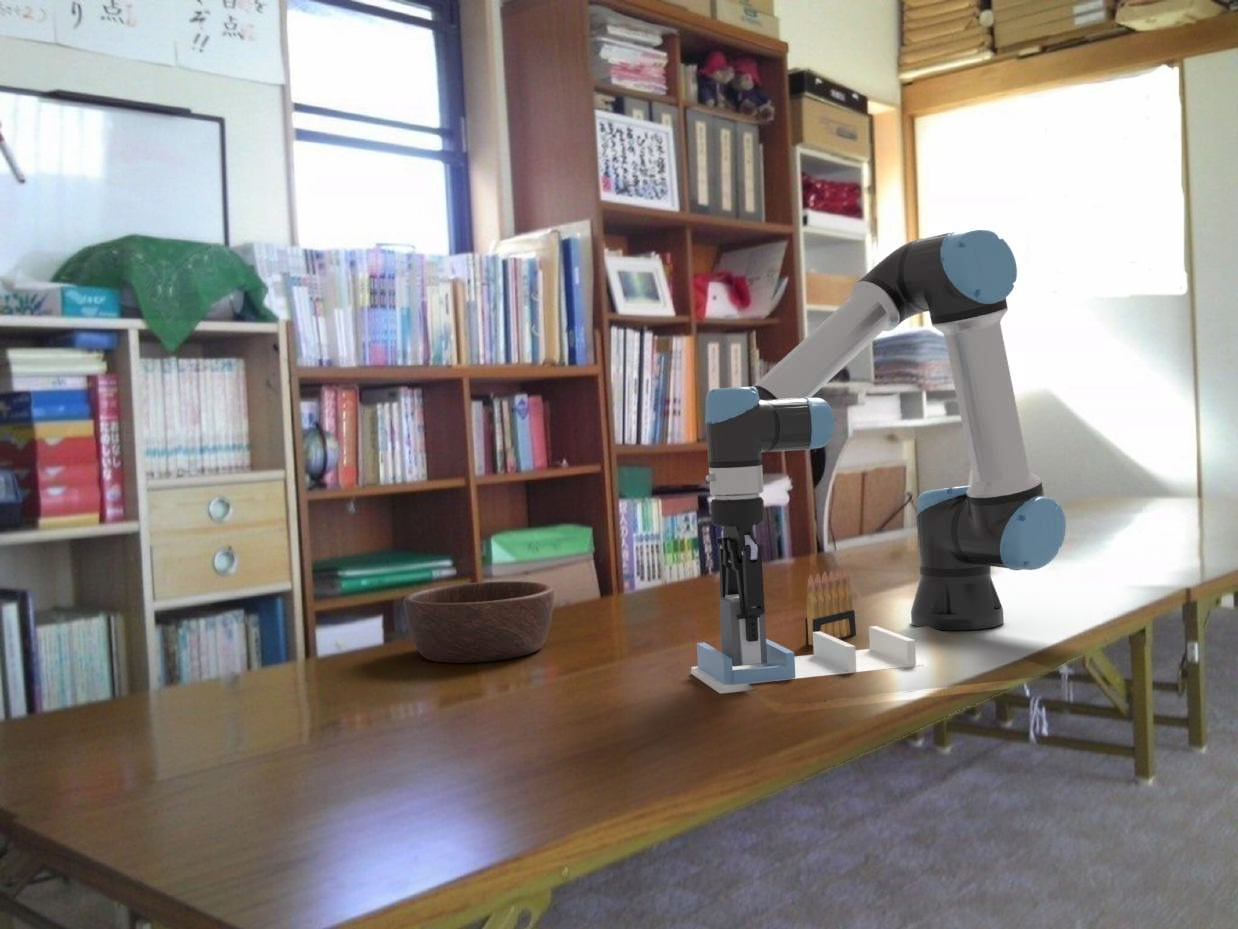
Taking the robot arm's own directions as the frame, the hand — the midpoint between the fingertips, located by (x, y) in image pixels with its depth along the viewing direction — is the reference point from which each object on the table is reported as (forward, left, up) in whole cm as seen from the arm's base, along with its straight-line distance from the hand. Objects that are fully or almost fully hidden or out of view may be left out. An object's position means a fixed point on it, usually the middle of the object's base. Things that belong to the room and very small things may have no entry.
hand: (744, 659), depth 178 cm
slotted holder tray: (-9, 0, -3) cm, 9 cm away
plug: (0, 0, 0) cm, 0 cm away
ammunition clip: (-20, -17, -3) cm, 26 cm away
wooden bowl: (+33, -40, -3) cm, 52 cm away
